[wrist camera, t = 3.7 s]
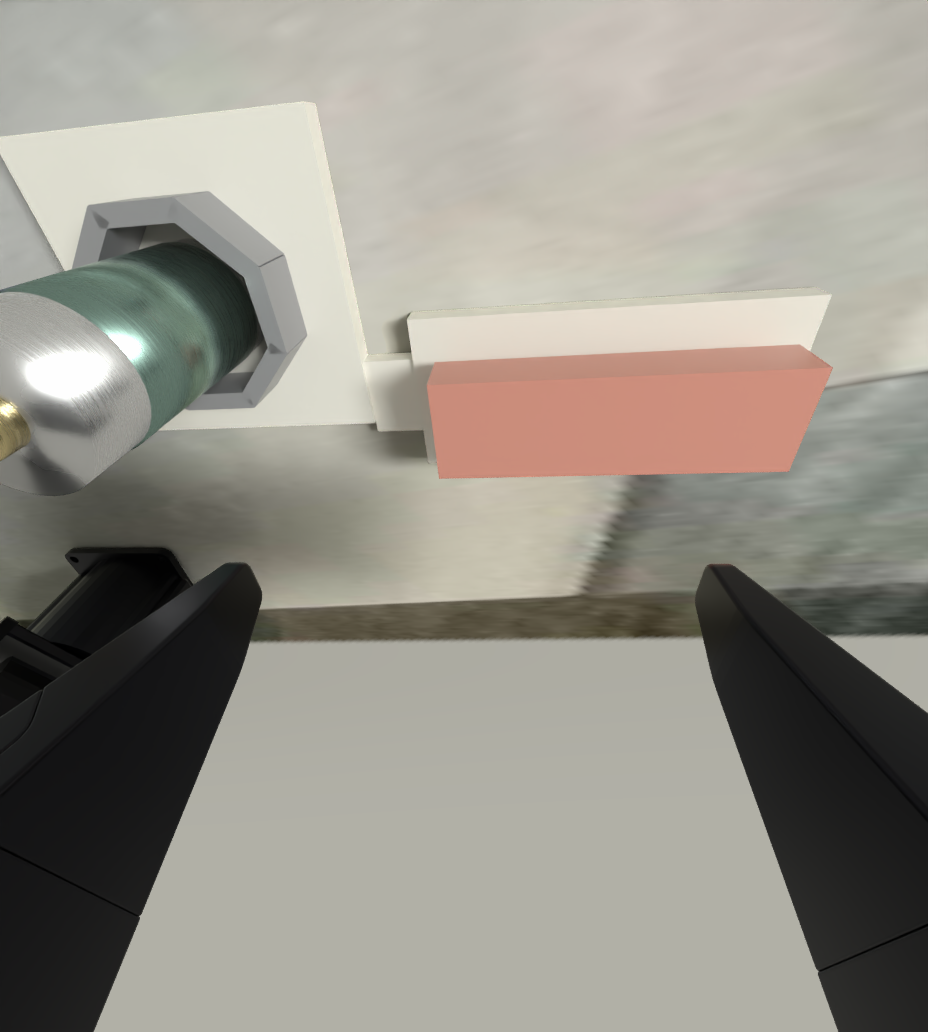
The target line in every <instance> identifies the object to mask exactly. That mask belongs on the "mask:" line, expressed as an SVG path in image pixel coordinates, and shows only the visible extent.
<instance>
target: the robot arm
mask: <svg viewBox="0 0 928 1032" xmlns="http://www.w3.org/2000/svg"><path fill="white" fill-rule="evenodd" d="M65 558H66V559H67V561H68V562H69V563H70V564H71V565H72V566H73V568H74V569H75V570H76V571H77V572H78V574H79V576H78V577H77V578H76V579H75V580H74V581H73V582H72V583H71V584H70V585H69V586H68V587H67V588H66V589H65V590H64V591H63V592H62V593H61V594H60V595H59V596H58V597H57V598H56V599H55V600H54V601H53V602H52V603H51V604H50V605H49V606H48V607H47V608H46V609H45V610H44V611H43V612H42V613H41V614H40V615H39V616H38V617H37V618H36V619H35V620H34V621H33V622H32V623H31V624H30V625H29V626H28V627H27V628H24V627H22V626H20V625H18V623H19V622H17V621H16V620H14V619H12V618H10V617H8V616H7V617H6V618H4V619H3V620H2V621H0V1032H94V1030H95V1027H96V1025H97V1022H98V1020H99V1017H100V1015H101V1013H102V1010H103V1008H104V1005H105V1003H106V1000H107V998H108V996H109V993H110V990H111V988H112V986H113V983H114V981H115V978H116V976H117V973H118V971H119V969H120V966H121V964H122V961H123V959H124V956H125V954H126V952H127V949H128V947H129V944H130V942H131V939H132V937H133V934H134V932H135V930H136V927H137V925H138V922H139V920H140V917H139V916H140V915H141V914H142V912H143V909H144V907H145V904H146V902H147V899H148V897H149V895H150V892H151V890H152V887H153V885H154V882H155V880H156V877H157V875H158V873H159V870H160V867H161V865H162V863H163V860H164V858H165V855H166V853H167V851H168V848H169V846H170V843H171V841H172V838H173V836H174V833H175V831H176V829H177V826H178V824H179V821H180V819H181V816H182V814H183V811H184V809H185V806H186V804H187V802H188V799H189V797H190V794H191V792H192V789H193V787H194V785H195V782H196V780H197V777H198V775H199V772H200V770H201V767H202V765H203V763H204V760H205V758H206V755H207V753H208V750H209V748H210V745H211V743H212V740H213V738H214V736H215V733H216V731H217V728H218V725H219V723H220V721H221V719H222V716H223V714H224V711H225V709H226V706H227V704H228V701H229V699H230V697H231V694H232V692H233V689H234V687H235V684H236V682H237V679H238V677H239V674H240V672H241V669H242V666H243V663H244V660H245V657H246V653H247V650H248V647H249V643H250V640H251V636H252V633H253V629H254V626H255V622H256V619H257V615H258V612H259V608H260V605H261V601H262V591H261V588H260V586H259V584H258V581H257V579H256V577H255V575H254V573H253V571H252V569H251V567H250V566H249V565H248V564H247V563H243V562H229V563H225V564H223V565H222V566H220V567H219V568H217V569H216V570H215V571H213V572H212V573H210V574H209V575H207V576H206V577H204V578H203V579H201V580H200V581H199V582H197V583H196V584H194V585H193V584H192V583H191V581H190V579H189V578H188V576H187V575H186V573H185V572H184V570H183V569H182V567H181V566H180V564H179V562H178V561H177V559H176V558H175V556H174V555H173V554H172V552H170V551H169V550H166V549H163V548H99V549H71V550H70V551H69V552H68V553H67V554H66V555H65ZM695 605H696V610H697V614H698V618H699V623H700V627H701V631H702V636H703V640H704V644H705V648H706V653H707V658H708V662H709V666H710V670H711V674H712V678H713V681H714V684H715V687H716V691H717V693H718V696H719V699H720V701H721V705H722V707H723V710H724V713H725V716H726V718H727V721H728V724H729V727H730V730H731V733H732V735H733V738H734V741H735V744H736V746H737V749H738V752H739V754H740V758H741V760H742V763H743V766H744V769H745V772H746V774H747V777H748V780H749V783H750V786H751V788H752V791H753V794H754V797H755V799H756V802H757V805H758V808H759V810H760V813H761V816H762V819H763V822H764V824H765V827H766V830H767V833H768V836H769V839H770V841H771V844H772V847H773V850H774V852H775V855H776V858H777V860H778V864H779V866H780V869H781V872H782V875H783V877H784V880H785V883H786V886H787V889H788V892H789V894H790V897H791V900H792V903H793V906H794V908H795V911H796V914H797V917H798V920H799V922H800V925H801V928H802V931H803V933H804V936H805V939H806V942H807V945H808V947H809V950H810V953H811V956H812V959H813V961H814V964H815V967H816V969H817V970H818V971H819V972H818V976H819V979H820V982H821V985H822V987H823V990H824V993H825V996H826V999H827V1001H828V1004H829V1007H830V1010H831V1013H832V1015H833V1018H834V1021H835V1024H836V1026H837V1029H838V1032H928V713H927V712H926V711H924V710H923V709H921V708H920V707H919V706H917V705H916V704H915V703H914V702H912V701H911V700H910V699H909V698H907V697H906V696H905V695H903V694H902V693H901V692H899V691H898V690H897V689H895V688H894V687H893V686H891V685H890V684H889V683H887V682H886V681H885V680H884V679H882V678H881V677H880V676H878V675H877V674H875V673H874V672H873V671H872V670H870V669H869V668H868V667H866V666H865V665H864V664H862V663H861V662H860V661H858V660H857V659H856V658H855V657H853V656H852V655H851V654H849V653H848V652H847V651H845V650H844V649H843V648H841V647H840V646H839V645H837V644H836V643H835V642H834V641H832V640H831V639H830V638H828V637H827V636H826V635H824V634H823V633H822V632H820V631H819V630H818V629H816V628H815V627H814V626H813V625H811V624H810V623H809V622H807V621H806V620H805V619H803V618H802V617H801V616H799V615H798V614H797V613H795V612H794V611H793V610H792V609H790V608H789V607H788V606H786V605H785V604H784V603H782V602H781V601H780V600H778V599H777V598H776V597H774V596H773V595H772V594H770V593H769V592H768V591H767V590H765V589H764V588H763V587H761V586H760V585H759V584H757V583H756V582H755V581H753V580H752V579H751V578H749V577H748V576H747V575H745V574H744V573H743V572H742V571H740V570H739V569H738V568H736V567H735V566H733V565H731V564H709V565H707V566H706V567H705V569H704V572H703V575H702V577H701V580H700V583H699V586H698V588H697V591H696V595H695Z"/></svg>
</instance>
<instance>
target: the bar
mask: <svg viewBox="0 0 928 1032" xmlns="http://www.w3.org/2000/svg"><path fill="white" fill-rule="evenodd" d="M832 369H833V367H831V366H830V365H828V364H827V363H826V362H824V361H823V360H821V359H820V358H819V357H817V356H816V355H814V354H813V353H811V352H810V351H809V350H807V349H806V348H804V347H803V346H801V345H800V344H797V345H776V346H756V347H735V348H715V349H694V350H674V351H653V352H633V353H613V354H592V355H572V356H551V357H531V358H510V359H490V360H469V361H449V362H435V363H434V366H433V369H432V371H431V374H430V377H429V380H428V383H427V392H428V399H429V406H430V414H431V421H432V429H433V436H434V443H435V451H436V458H437V466H438V473H439V479H442V478H492V477H542V476H591V475H641V474H691V473H741V472H789V469H790V467H791V465H792V462H793V460H794V458H795V455H796V453H797V451H798V448H799V446H800V444H801V441H802V439H803V437H804V434H805V432H806V430H807V427H808V425H809V423H810V420H811V418H812V416H813V413H814V411H815V409H816V406H817V404H818V402H819V399H820V397H821V395H822V392H823V390H824V387H825V385H826V383H827V380H828V378H829V376H830V373H831V371H832Z"/></svg>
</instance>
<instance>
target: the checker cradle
mask: <svg viewBox="0 0 928 1032" xmlns="http://www.w3.org/2000/svg"><path fill="white" fill-rule="evenodd" d="M0 155H1V157H2V159H3V160H4V162H5V164H6V166H7V168H8V169H9V171H10V173H11V175H12V177H13V178H14V180H15V182H16V184H17V186H18V187H19V189H20V191H21V193H22V195H23V196H24V198H25V200H26V202H27V204H28V205H29V207H30V209H31V211H32V213H33V214H34V216H35V218H36V220H37V222H38V223H39V225H40V227H41V229H42V231H43V232H44V234H45V236H46V238H47V240H48V241H49V243H50V245H51V247H52V249H53V250H54V252H55V254H56V256H57V258H58V259H59V261H60V263H61V265H62V267H63V268H64V270H65V271H67V270H71V269H74V268H77V267H81V266H84V265H88V264H91V263H95V262H98V261H102V260H105V259H108V258H112V257H115V256H119V255H122V254H126V253H129V252H132V251H136V250H139V249H143V248H146V247H150V246H153V245H157V244H160V243H165V242H174V241H177V240H181V239H187V238H195V239H196V240H197V241H198V242H200V243H201V244H202V245H204V246H205V247H206V248H207V249H209V250H210V251H211V252H212V253H214V254H215V255H216V256H218V257H219V258H220V259H221V260H223V261H224V262H225V263H226V264H228V265H229V266H230V267H232V268H233V269H234V270H235V271H237V272H238V273H239V274H241V275H242V276H243V277H244V279H245V282H246V285H247V288H248V291H249V294H250V297H251V300H252V303H253V306H254V308H255V311H256V314H257V317H258V320H259V323H260V326H261V329H262V332H263V335H264V339H263V341H262V342H261V344H260V345H259V346H258V347H257V348H256V349H255V350H254V351H253V352H252V353H250V355H249V356H248V357H247V358H246V359H245V360H244V361H243V362H242V363H240V364H239V365H238V366H237V367H235V368H234V369H233V370H232V371H231V372H229V373H228V374H227V375H226V376H224V377H223V378H222V379H221V380H219V381H218V382H217V383H216V384H214V385H213V386H212V387H211V388H210V389H208V390H207V391H206V392H205V393H203V394H202V395H201V396H200V397H198V398H197V399H196V400H195V401H194V402H192V403H191V404H190V405H189V406H187V407H186V408H185V409H184V410H182V411H181V412H180V413H179V414H178V415H176V416H175V417H174V418H173V419H171V420H170V421H169V422H168V423H166V424H165V425H164V426H163V427H161V428H160V429H159V430H158V431H162V430H191V429H220V428H249V427H278V426H308V425H337V424H366V423H375V421H376V424H377V429H378V432H381V431H412V430H423V432H424V438H425V445H426V452H427V458H428V463H437V458H436V451H435V443H434V436H433V429H432V421H431V414H430V406H429V399H428V392H427V383H428V380H429V377H430V374H431V371H432V369H433V366H434V363H435V362H449V361H469V360H490V359H510V358H531V357H551V356H572V355H592V354H613V353H633V352H653V351H674V350H694V349H715V348H735V347H756V346H776V345H797V344H800V345H801V346H803V347H804V348H806V349H807V350H809V351H810V350H811V347H812V345H813V342H814V340H815V337H816V334H817V332H818V329H819V327H820V324H821V322H822V319H823V316H824V314H825V311H826V309H827V306H828V303H829V301H830V298H831V296H832V294H830V293H828V292H826V291H823V290H821V289H819V288H817V287H809V288H792V289H776V290H760V291H744V292H728V293H711V294H695V295H679V296H663V297H646V298H630V299H614V300H598V301H582V302H565V303H549V304H533V305H517V306H500V307H484V308H468V309H452V310H436V311H419V312H411V314H410V315H409V317H408V319H407V325H408V331H409V338H410V345H411V351H412V352H410V353H391V354H371V355H368V352H367V348H366V343H365V338H364V333H363V329H362V324H361V319H360V314H359V309H358V305H357V300H356V295H355V290H354V285H353V281H352V276H351V271H350V266H349V262H348V257H347V252H346V247H345V242H344V238H343V233H342V228H341V223H340V218H339V214H338V209H337V204H336V199H335V194H334V190H333V185H332V180H331V175H330V171H329V166H328V161H327V156H326V151H325V147H324V142H323V137H322V132H321V127H320V123H319V118H318V113H317V108H316V104H315V103H310V102H305V101H302V102H293V103H285V104H276V105H268V106H259V107H251V108H242V109H234V110H225V111H217V112H208V113H200V114H191V115H182V116H174V117H165V118H157V119H148V120H140V121H131V122H123V123H114V124H106V125H97V126H89V127H80V128H72V129H63V130H54V131H46V132H37V133H29V134H20V135H12V136H3V137H0Z"/></svg>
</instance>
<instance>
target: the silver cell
mask: <svg viewBox="0 0 928 1032" xmlns="http://www.w3.org/2000/svg"><path fill="white" fill-rule="evenodd" d="M263 339H264V335H263V332H262V329H261V326H260V323H259V320H258V317H257V314H256V311H255V308H254V306H253V303H252V300H251V297H250V294H249V291H248V288H247V285H246V282H245V279H244V277H243V276H242V275H241V274H239V273H238V272H237V271H235V270H234V269H233V268H232V267H230V266H229V265H228V264H226V263H225V262H224V261H223V260H221V259H220V258H219V257H218V256H216V255H215V254H214V253H212V252H211V251H210V250H209V249H207V248H206V247H205V246H204V245H202V244H201V243H200V242H198V241H197V240H196V239H195V238H187V239H181V240H177V241H174V242H165V243H160V244H157V245H153V246H150V247H146V248H143V249H139V250H136V251H132V252H129V253H126V254H122V255H119V256H115V257H112V258H108V259H105V260H102V261H98V262H95V263H91V264H88V265H84V266H81V267H77V268H74V269H71V270H67V271H64V272H60V273H57V274H53V275H50V276H46V277H43V278H40V279H36V280H33V281H29V282H26V283H22V284H19V285H15V286H12V287H9V288H5V289H2V290H0V484H3V485H5V486H8V487H10V488H13V489H17V490H20V491H23V492H28V493H32V494H38V495H47V496H59V495H66V494H71V493H74V492H76V491H79V490H80V489H82V488H83V487H85V486H86V485H87V484H89V483H90V482H91V481H92V480H94V479H95V478H96V477H97V476H98V475H100V474H101V473H102V472H103V471H105V470H106V469H107V468H108V467H110V466H111V465H112V464H113V463H115V462H116V461H117V460H118V459H120V458H121V457H122V456H123V455H125V454H126V453H127V452H128V451H130V450H132V449H134V448H136V447H137V446H139V445H140V444H142V443H143V442H144V441H145V440H147V439H148V438H149V437H150V436H152V435H153V434H154V433H155V432H157V431H158V430H159V429H160V428H161V427H163V426H164V425H165V424H166V423H168V422H169V421H170V420H171V419H173V418H174V417H175V416H176V415H178V414H179V413H180V412H181V411H182V410H184V409H185V408H186V407H187V406H189V405H190V404H191V403H192V402H194V401H195V400H196V399H197V398H198V397H200V396H201V395H202V394H203V393H205V392H206V391H207V390H208V389H210V388H211V387H212V386H213V385H214V384H216V383H217V382H218V381H219V380H221V379H222V378H223V377H224V376H226V375H227V374H228V373H229V372H231V371H232V370H233V369H234V368H235V367H237V366H238V365H239V364H240V363H242V362H243V361H244V360H245V359H246V358H247V357H248V356H249V355H250V353H252V352H253V351H254V350H255V349H256V348H257V347H258V346H259V345H260V344H261V342H262V341H263Z"/></svg>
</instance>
